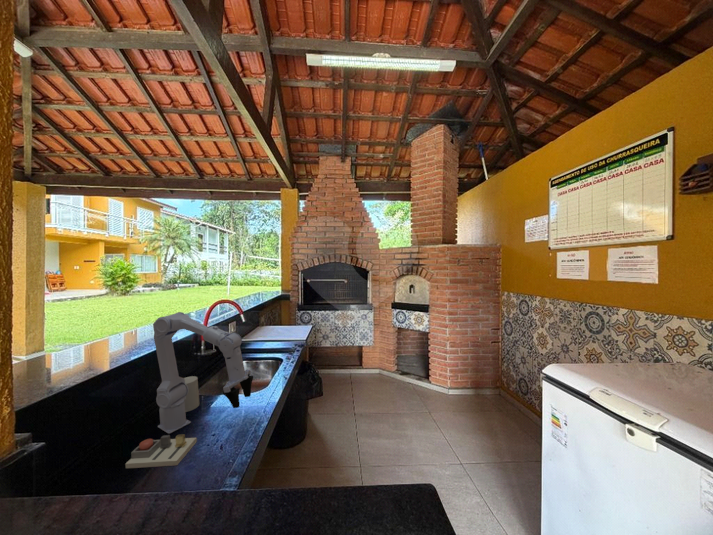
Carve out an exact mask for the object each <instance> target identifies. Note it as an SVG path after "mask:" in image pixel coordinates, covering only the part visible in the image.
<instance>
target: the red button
mask: <svg viewBox="0 0 713 535" xmlns="http://www.w3.org/2000/svg"><path fill="white" fill-rule="evenodd" d="M153 440H154V439H153V438H147V439H144V440H142V441H141V442H139V443H138V444H139V445H138V446H139V448H140V451H145V450H149V449H150V448H151V447H152V446H153Z"/></svg>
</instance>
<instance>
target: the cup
mask: <svg viewBox="0 0 713 535" xmlns="http://www.w3.org/2000/svg"><path fill="white" fill-rule="evenodd" d="M183 378H184V380H185V383H186V385H187V386H188V394H187V395H186V396H185V397H186V399H185V400H184V401H185V413H187V412H191V411H193V410H195V409H197V408H198V407H199V406H200V393H199V381H198V376H195V375H194V376H193V375H191V376H187V377H186V376H185V377H183Z"/></svg>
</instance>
